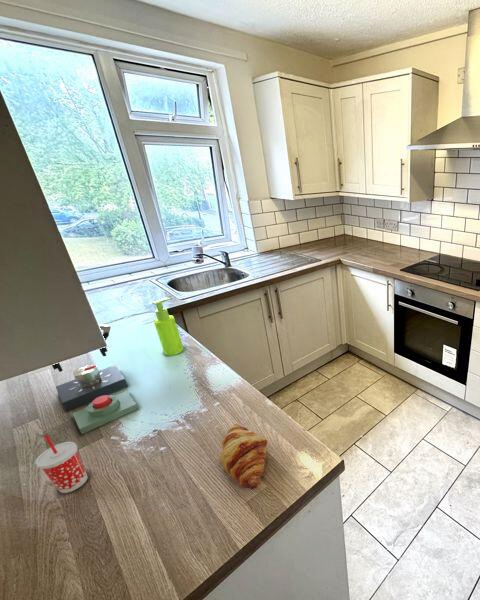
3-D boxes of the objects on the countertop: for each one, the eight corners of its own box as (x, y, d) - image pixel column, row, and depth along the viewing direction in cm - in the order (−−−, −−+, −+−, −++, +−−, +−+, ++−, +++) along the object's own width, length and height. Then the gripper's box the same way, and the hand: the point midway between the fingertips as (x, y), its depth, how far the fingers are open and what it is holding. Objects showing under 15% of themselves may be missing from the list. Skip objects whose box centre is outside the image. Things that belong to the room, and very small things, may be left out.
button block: (81, 434, 84) (76, 424, 82) (74, 417, 89) (69, 407, 87) (138, 408, 92) (134, 398, 91) (128, 395, 97) (124, 385, 96)
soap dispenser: (189, 347, 121) (175, 298, 113) (171, 356, 116) (154, 305, 107) (179, 343, 124) (164, 295, 115) (160, 353, 118) (143, 302, 110)
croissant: (226, 446, 85) (203, 432, 80) (259, 417, 88) (239, 402, 83) (246, 511, 69) (219, 498, 64) (285, 472, 72) (262, 458, 67)
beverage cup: (66, 473, 73) (38, 426, 68) (98, 468, 75) (73, 421, 69) (46, 499, 68) (14, 450, 62) (81, 493, 69) (53, 444, 64)
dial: (81, 390, 95) (74, 376, 93) (77, 382, 98) (70, 369, 96) (103, 381, 98) (98, 368, 96) (99, 374, 101) (93, 361, 99)
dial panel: (66, 411, 91) (61, 402, 90) (59, 394, 97) (55, 385, 96) (128, 386, 101) (124, 378, 100) (118, 372, 107) (114, 364, 106)
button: (96, 411, 87) (93, 406, 86) (93, 405, 89) (90, 400, 88) (113, 403, 89) (110, 398, 89) (109, 398, 92) (107, 393, 91)
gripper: (95, 295, 96) (116, 345, 103) (8, 316, 84) (39, 371, 91) (101, 302, 92) (123, 353, 99) (11, 325, 80) (43, 382, 87)
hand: (82, 361), depth 95 cm, fingers open, 9 cm apart
